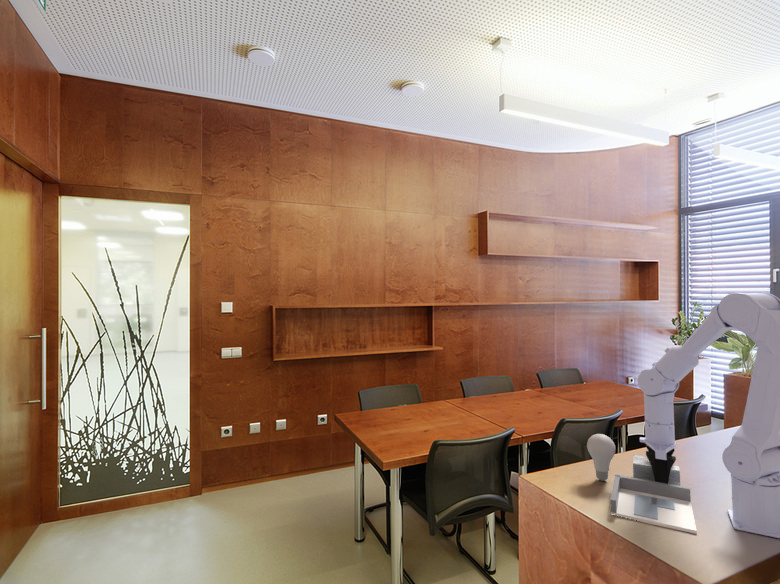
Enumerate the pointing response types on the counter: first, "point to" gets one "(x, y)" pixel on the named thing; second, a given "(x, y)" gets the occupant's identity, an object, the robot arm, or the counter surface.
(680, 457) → the counter surface
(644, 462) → the bracket
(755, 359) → the robot arm
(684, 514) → the white tray
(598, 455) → the lightbulb
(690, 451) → the counter surface
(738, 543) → the counter surface
